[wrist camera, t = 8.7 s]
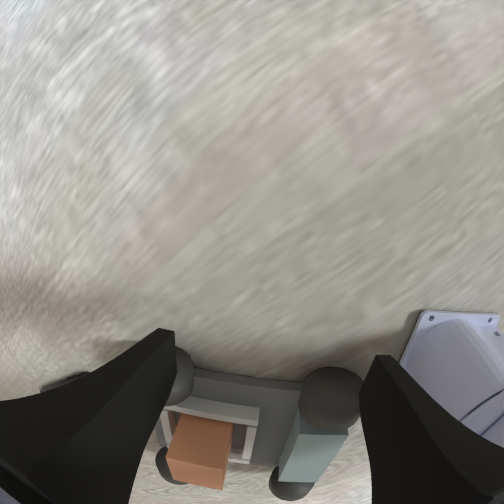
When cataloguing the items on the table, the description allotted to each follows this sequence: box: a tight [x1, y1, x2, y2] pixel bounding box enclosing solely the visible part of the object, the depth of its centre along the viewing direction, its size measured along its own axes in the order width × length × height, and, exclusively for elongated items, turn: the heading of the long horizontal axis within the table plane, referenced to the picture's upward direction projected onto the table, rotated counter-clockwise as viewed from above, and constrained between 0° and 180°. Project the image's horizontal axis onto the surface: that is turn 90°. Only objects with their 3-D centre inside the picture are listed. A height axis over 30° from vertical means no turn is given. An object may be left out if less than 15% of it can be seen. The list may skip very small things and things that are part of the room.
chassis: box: [155, 347, 364, 501], centre depth 22 cm, size 18×18×5 cm
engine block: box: [166, 413, 233, 490], centre depth 21 cm, size 4×5×6 cm
